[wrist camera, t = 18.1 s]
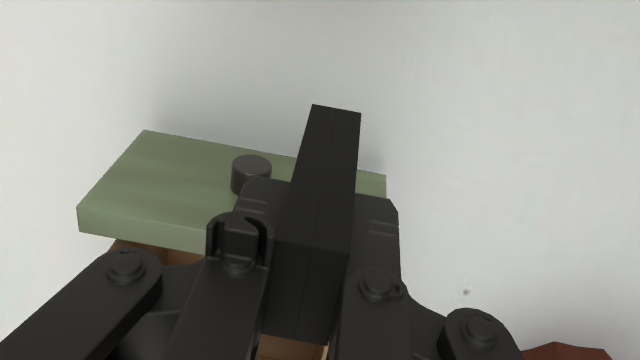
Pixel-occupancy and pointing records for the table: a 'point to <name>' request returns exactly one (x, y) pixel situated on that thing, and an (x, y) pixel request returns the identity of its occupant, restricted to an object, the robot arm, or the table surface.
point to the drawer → (188, 204)
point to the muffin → (564, 353)
